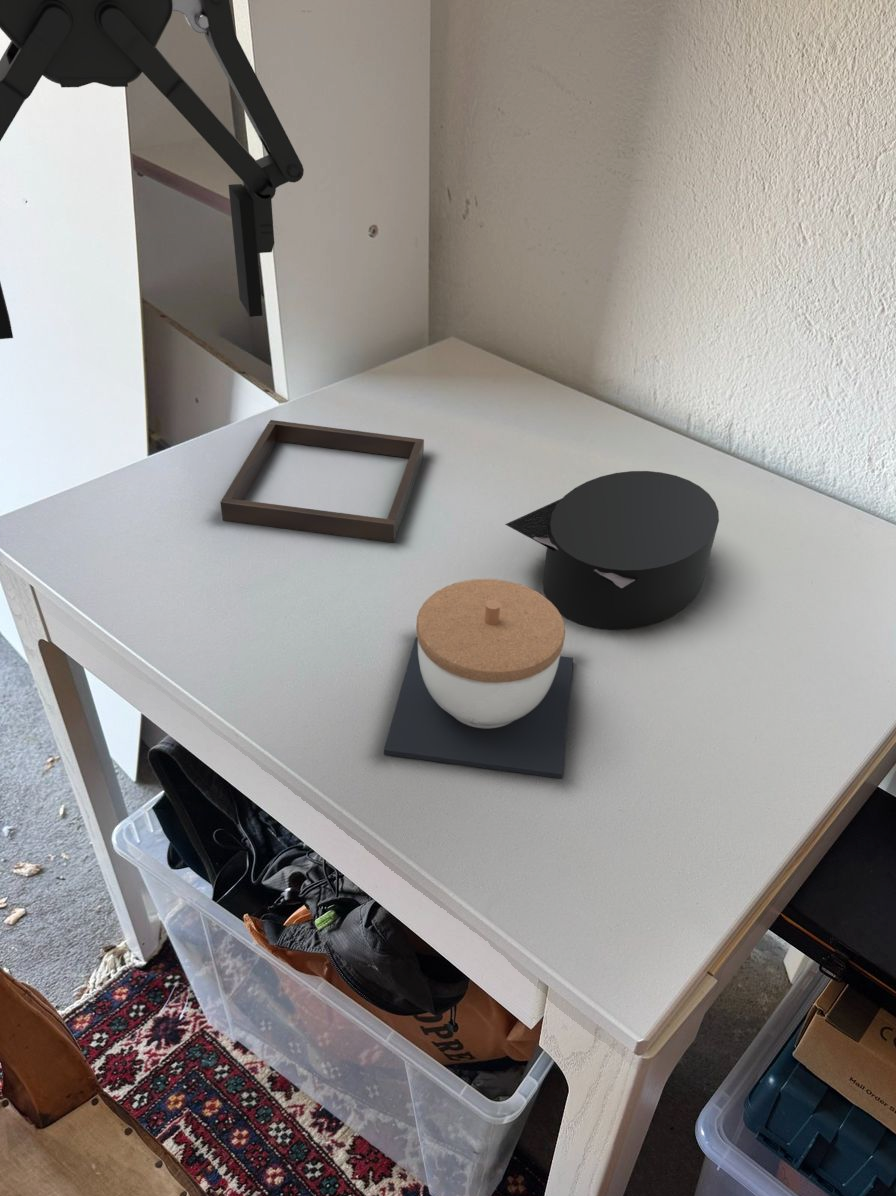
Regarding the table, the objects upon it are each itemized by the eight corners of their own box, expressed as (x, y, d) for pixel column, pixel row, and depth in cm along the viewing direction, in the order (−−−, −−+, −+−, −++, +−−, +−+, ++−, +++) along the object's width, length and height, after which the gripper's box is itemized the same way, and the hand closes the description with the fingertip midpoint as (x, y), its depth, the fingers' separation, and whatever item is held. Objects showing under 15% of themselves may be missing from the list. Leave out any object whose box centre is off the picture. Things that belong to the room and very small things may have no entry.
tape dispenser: (736, 579, 95) (756, 509, 90) (622, 653, 84) (638, 577, 79) (614, 518, 102) (627, 450, 97) (494, 579, 91) (502, 505, 86)
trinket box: (571, 741, 75) (588, 645, 69) (429, 760, 73) (433, 661, 66) (532, 648, 83) (544, 554, 76) (403, 662, 80) (404, 566, 74)
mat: (383, 754, 73) (383, 749, 73) (415, 641, 83) (415, 636, 83) (561, 778, 73) (562, 774, 73) (572, 662, 83) (573, 657, 82)
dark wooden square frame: (222, 520, 94) (220, 501, 92) (271, 436, 106) (270, 419, 104) (393, 542, 93) (393, 524, 92) (423, 456, 105) (424, 439, 104)
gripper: (-302, -176, 37) (-113, 369, 51) (354, -132, 46) (361, 323, 60) (-279, -190, 42) (-112, 310, 56) (309, -148, 51) (325, 276, 65)
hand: (132, 318), depth 58 cm, fingers open, 13 cm apart
